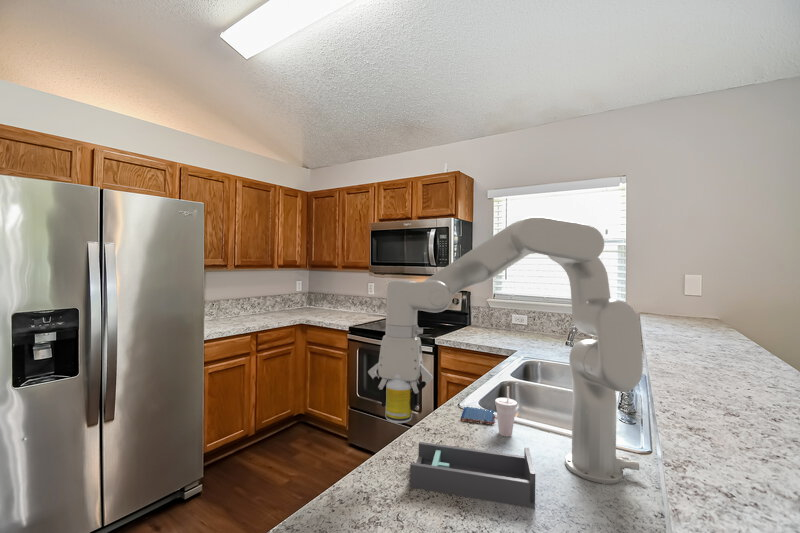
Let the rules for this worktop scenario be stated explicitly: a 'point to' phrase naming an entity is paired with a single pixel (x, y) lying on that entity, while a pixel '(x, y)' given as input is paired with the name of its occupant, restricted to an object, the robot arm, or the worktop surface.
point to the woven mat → (478, 415)
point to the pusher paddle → (439, 460)
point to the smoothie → (505, 414)
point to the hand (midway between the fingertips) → (398, 405)
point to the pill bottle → (398, 400)
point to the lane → (476, 474)
